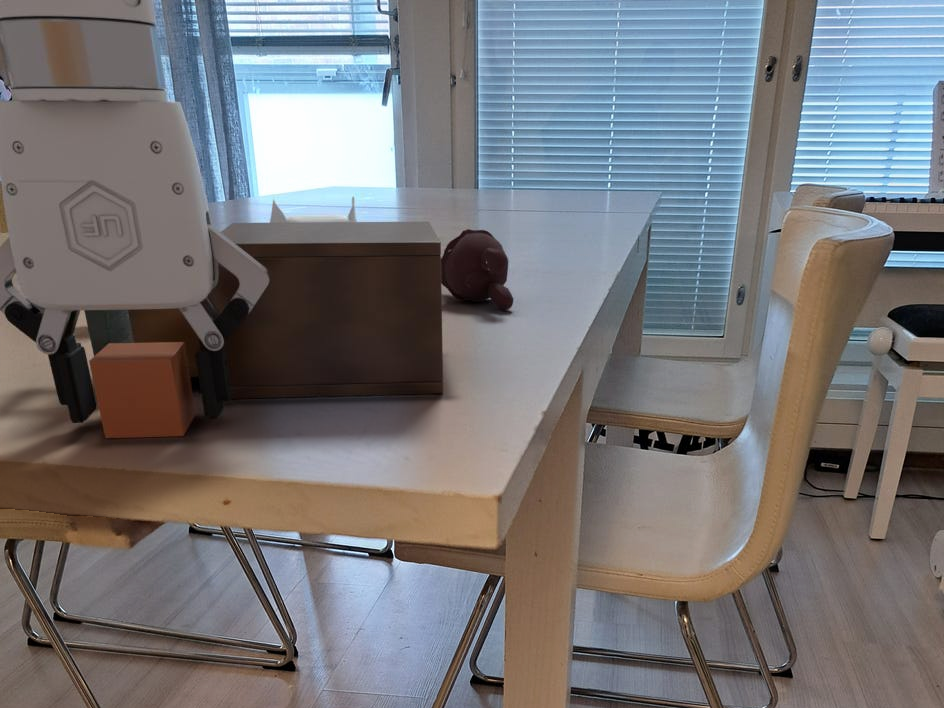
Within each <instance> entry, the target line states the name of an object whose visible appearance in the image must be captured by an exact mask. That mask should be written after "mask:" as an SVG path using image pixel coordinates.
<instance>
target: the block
mask: <svg viewBox="0 0 944 708" xmlns="http://www.w3.org/2000/svg"><path fill="white" fill-rule="evenodd" d="M88 365H89V367H90V368H89V369H90V374H91V379H92V383H93V388H94V393H95V397H96V402H97V406H98V410H99V414H100V419H101V424H102V429H103V434H104V437H105V439H131V438H134V439H135V438H163V437H165V438H166V437H167V438H170V437H171V438H172V437H184V435H185V434H186V432H187V430H188V429H189V428H190V425H191V423H192V422H193V420H194V418H195V417H196V415H197V414H196V406H195V400H194V394H193V389H192V387H193V386H192V381H191V377H190V374H189V368H188V362H187V356H186V349H185V343H184V342H159V343H109V344H108V345H107V346H105V347H104V348H103V349H102V350H101V351H100V352H99V353H98V354H96V355H95V356H94V355H93V357H92V358H90V360H89V361H88Z"/></svg>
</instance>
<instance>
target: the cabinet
mask: <svg viewBox="0 0 944 708" xmlns="http://www.w3.org/2000/svg"><path fill="white" fill-rule="evenodd" d="M220 232H221V233H222V234H223V235H224V236H226V237H227V238H228V239H230V240H231V241H232V242H233V243H235V244H236V245H237V246H238V247H240V248H241V249H242V250H244V251H245V252H246V253H247V254H249V255H250V256H251V257H253V258H254V259H255V260H256V261H258V262H259V263H260V264H262V265H263V266H264V267H265V268H267V269H268V270H269V271H270V274H271V281H270V283H269V284H268V286H267V287H266V289H265V290H264V292H263V293H262V295H261V296H260V298H259V299H258V301H257V302H256V304H255V305H254V307H253V308H252V310H251V311H250V313H249V314H248V316H247V317H246V319H245V320H244V321H243V322H242V324H241V325H240V326H239V327H238V328H237V330H236V331H235V332H234V333H233V334H232V336H231V337H230V338H229V339H228V340H227V342H226V343H225V346H226V354H227V361H228V368H229V376H230V383H231V392H232V396H231V400H237V399H238V400H239V399H276V398H277V399H279V398H280V399H281V398H318V397H320V398H321V397H354V396H355V397H356V396H359V397H360V396H394V395H395V396H397V395H401V396H402V395H433V394H434V395H436V394H439V395H440V394H441V395H442V394H444V359H443V358H444V357H443V356H444V355H443V352H444V351H443V301H442V300H443V297H442V296H443V295H442V292H443V291H442V283H441V258H442V256H441V255H442V242H441V240H440V238H439V237H438V235H437V233H436V232H435V229H433V226H432V224H431V222H430V221H357V222H290V223H270V222H231V223H230V224H229V225H227V226H226V227H225V228H224V229H222V230H221V231H220ZM218 273H219V277H218V283H217V285H216V287H215V288H213V289H212V296H213V304H214V305H215V307H216V308H217V310H218V311H219V313H221V311H222V310H223V309H224V308H225V307H226V305H227V304H228V303H229V302H230V301H231V299H232V297H233V296H234V294H235V293H236V291H237V290H238V288H239V280H238V278H237V277H236V276H235V275H234V274H233V273H231V272H230V271H229V270H227V269H226V268H225V267H223V266H222V265H221V264H219V263H218Z"/></svg>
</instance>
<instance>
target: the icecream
mask: <svg viewBox="0 0 944 708" xmlns="http://www.w3.org/2000/svg"><path fill="white" fill-rule="evenodd" d="M508 271H509V258H508V256H507V254H506V251H505V250H504V248H503V244H501V242H499V240H497V238H495V237H494V235H493V234H492V233H491V232H489V231H488V230H484V229H475V230H473V229H469V228H468V229H465V230H462V232H461V233H460V234H459V235H458V236H456V237H455V238H453V239H452V240H450V241H449V242H448V243H447V245H446V247H445V248H444V251H443V254H442V256H441V286H442V287H445V288H446V289H447V290H448V292H449V293H450V294H451V295H452V297H454V298H455V299H456V300H459V301H466V300H467V301H472V302H475V303H480V302H483V301H485V300H489V299H490V300H491V301H492V302H493V303H494V304H495V306H496V307H497V308H498V309H499V310H501V311H504V312H506V311H508V310H510V309H511V308H512V307H513V305H514V297H513V295H512V293H511V291H510V289H509V287H506V286H505V284H506V282H507V281H508Z"/></svg>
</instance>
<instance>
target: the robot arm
mask: <svg viewBox="0 0 944 708" xmlns="http://www.w3.org/2000/svg"><path fill="white" fill-rule="evenodd" d="M157 24H158V23H157V19H156V11H155V6H154V0H0V77H1V78H2V80H3V83H4V86H5V88H7V87H8V88H10V89H9V91H10V95H11V100H0V186H1V193H2V199H3V207H4V213H5V214H4V215H5V219H6V227H7V233H8V237H7V239H5V241H4V242H3V243H2V244H1V245H0V312H1V313H2V314H3V315H4V316H5V319H6V320H7V321H8V322H9V323H10V324H11V325H12V326H14V327H15V329H17V330H19V331H20V332H22V334H24V335H25V336H27V337H28V338H29V339H30V340H32V341H33V343H35V344H36V347H37V349H38V350H39V351H40V352H41V353H43V354H45V355H47V356H48V362H49V365H50V370H51V373H52V378H53V381H54V386H55V391H56V395H57V399H58V402H59V404H60V405H61V406H67V409H68V413H69V418H70V421H71V423H72V424H83V423H84V422H85V421H87V420H88V419H89V418H90V417H91V415H92V414H93V413H94V412H95V411H96V410H97V408H98V407H97V406H98V403H97V398H96V393H95V389H94V384H93V379H92V375H91V370H90V368H89V367H90V366H89V361H88V358H87V352H86V348H85V346H82V343H81V342H77V341H76V336H75V335H74V334H75V329H76V326H77V323H78V320H79V317H80V313H81V311H84V310H133V309H173V308H179V309H180V311H181V312H182V314H183V315H184V317H185V318H186V320H187V321H188V323H189V324H190V325H191V327H192V328H193V330H194V331H195V333H196V334H197V336H198V337H199V345H200V348H199V350H198V351H197V352H196V363H197V370H198V376H199V377H198V383H199V390H200V395H201V402H202V408H203V413H204V417H205V418H208V420H219V418H220V416H221V414H222V412H223V410H224V408H225V402H231V400H232V399H231V396H232V392H231V383H230V376H229V368H228V361H227V354H226V346H225V343H226V342H227V340H228V339H229V338H230V337H231V336H232V334H233V333H234V332H235V331H236V330H237V328H238V327H239V326H240V325H241V324H242V322H243V321H244V320H245V319H246V317H247V316H248V314H249V313H250V311H251V310H252V308H253V307H254V305H255V304H256V302H257V301H258V299H259V298H260V296H261V295H262V293H263V292H264V290H265V289H266V287H267V286H268V284H269V283H270V281H271V274H270V271H269V270H268V269H267V268H265V267H264V266H263V265H262V264H260V263H259V262H258V261H256V260H255V259H254V258H253V257H251V256H250V255H249V254H247V253H246V252H245V251H244V250H242V249H241V248H240V247H238V246H237V245H236V244H235V243H233V242H232V241H231V240H230V239H228V238H227V237H226V236H224V235H223V234H222V233H221V231H219V230H218V229H216V227H214V226H213V224H212V220H211V215H210V210H209V205H208V199H207V196H206V191H205V186H204V181H203V177H202V173H201V169H200V164H199V160H198V155H197V153H196V149H195V145H194V140H193V139H192V134H191V131H190V128H189V124H188V122H187V118H186V115H185V112H184V108H183V106H182V103H181V101H169V99H168V92H167V85H166V80H165V74H164V72H165V71H164V67H163V60H162V53H161V47H160V46H161V45H160V40H159V33H158V28H157V27H156V26H158V25H157ZM218 263H219V264H221V265H222V266H223V267H225V268H226V269H227V270H229V271H230V272H231V273H233V274H234V275H235V276H236V277H237V278H238V280H239V288H238V290H237V291H236V293H235V294H234V296H233V297H232V299H231V301H230V302H229V303H228V304H227V305H226V307H225V308H224V309H223V310H222V311H221V313H219V311H218V310H217V308H216V307H215V305H214V304H213V302H212V301H211V299H210V298H209V296H208V294H209V293H210V292H211V290H212V289H213V288H215V287H216V285H217V283H218V277H219V273H218ZM15 275H16V276H17V280H18V284H19V286H20V290H21V292H22V294H21V293H20V291H19V290H18V289H17V288H16V287H15V286H14V283H13V278H14V276H15ZM36 305H37V306H36ZM38 306H40V307H43V308H45V311H43V310H41V309H40V308H39V307H38Z"/></svg>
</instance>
